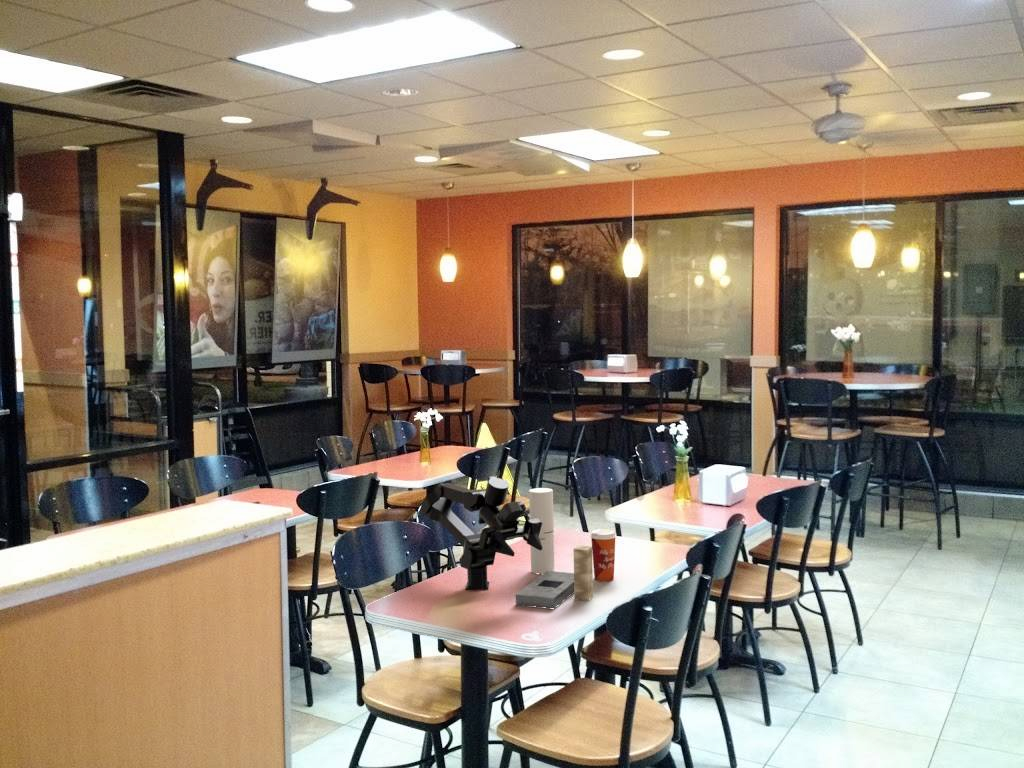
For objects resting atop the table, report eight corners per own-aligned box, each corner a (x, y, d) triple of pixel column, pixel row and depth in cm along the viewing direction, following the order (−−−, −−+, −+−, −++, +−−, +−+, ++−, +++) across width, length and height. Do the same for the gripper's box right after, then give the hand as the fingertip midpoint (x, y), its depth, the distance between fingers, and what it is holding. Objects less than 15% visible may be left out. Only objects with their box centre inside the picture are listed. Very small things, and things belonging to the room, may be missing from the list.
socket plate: (515, 605, 247) (515, 594, 247) (547, 580, 269) (547, 570, 269) (554, 609, 243) (553, 598, 242) (583, 584, 265) (583, 574, 264)
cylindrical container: (558, 572, 277) (556, 491, 275) (536, 575, 275) (534, 493, 273) (548, 566, 284) (547, 487, 282) (527, 569, 281) (525, 489, 279)
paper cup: (604, 584, 264) (603, 536, 263) (585, 578, 270) (584, 531, 269) (623, 578, 269) (622, 531, 268) (604, 573, 275) (603, 527, 274)
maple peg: (574, 599, 251) (573, 549, 250) (579, 595, 255) (578, 545, 254) (588, 600, 249) (587, 550, 248) (593, 596, 253) (592, 546, 252)
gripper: (474, 499, 246) (505, 532, 235) (530, 490, 257) (562, 521, 245) (466, 533, 250) (496, 567, 239) (521, 523, 261) (552, 555, 250)
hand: (527, 551), depth 243 cm, fingers open, 9 cm apart
